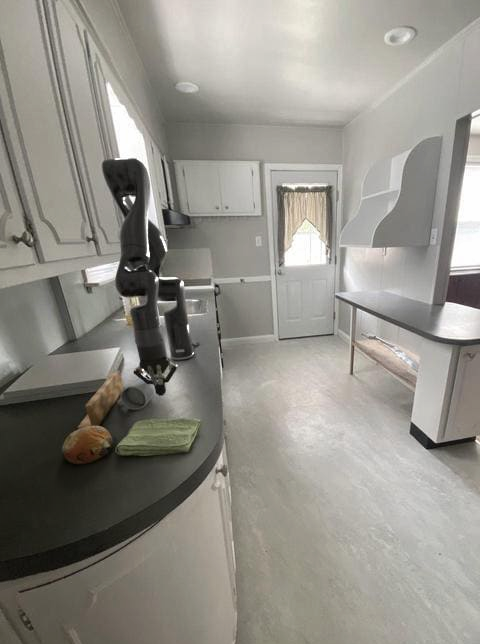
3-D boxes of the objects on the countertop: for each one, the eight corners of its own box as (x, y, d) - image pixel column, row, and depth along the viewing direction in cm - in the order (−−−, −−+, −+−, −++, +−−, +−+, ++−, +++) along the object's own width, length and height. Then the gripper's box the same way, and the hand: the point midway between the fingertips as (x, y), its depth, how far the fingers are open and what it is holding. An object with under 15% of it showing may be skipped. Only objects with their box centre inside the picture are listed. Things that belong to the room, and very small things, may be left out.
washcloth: (191, 455, 71) (189, 444, 70) (114, 459, 70) (110, 447, 69) (202, 424, 83) (201, 414, 82) (137, 427, 82) (134, 416, 81)
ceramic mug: (159, 396, 98) (154, 375, 95) (148, 409, 91) (143, 386, 88) (126, 398, 98) (120, 376, 95) (113, 411, 90) (106, 388, 87)
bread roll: (110, 448, 80) (98, 420, 79) (122, 448, 72) (109, 417, 72) (67, 468, 73) (53, 438, 72) (76, 471, 65) (60, 437, 65)
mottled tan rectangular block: (108, 390, 103) (102, 371, 100) (123, 388, 104) (119, 370, 101) (77, 429, 81) (70, 407, 79) (98, 427, 82) (91, 405, 80)
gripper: (175, 336, 93) (184, 387, 99) (129, 340, 90) (141, 391, 97) (172, 343, 86) (182, 397, 93) (122, 347, 84) (136, 403, 90)
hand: (161, 394), depth 95 cm, fingers closed
